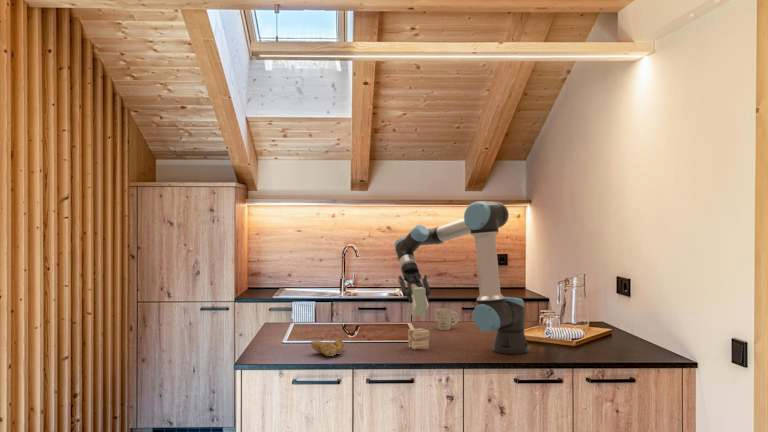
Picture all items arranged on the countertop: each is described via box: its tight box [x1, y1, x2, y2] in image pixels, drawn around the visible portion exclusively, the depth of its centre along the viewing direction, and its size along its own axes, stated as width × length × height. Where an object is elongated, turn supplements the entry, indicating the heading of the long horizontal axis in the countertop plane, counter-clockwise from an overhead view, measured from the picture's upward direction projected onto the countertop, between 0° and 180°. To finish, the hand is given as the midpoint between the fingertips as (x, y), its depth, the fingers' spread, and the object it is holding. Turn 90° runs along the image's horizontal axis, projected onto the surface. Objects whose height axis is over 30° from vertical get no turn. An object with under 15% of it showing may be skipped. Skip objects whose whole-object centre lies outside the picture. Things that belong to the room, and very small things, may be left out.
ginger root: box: [310, 337, 346, 357], centre depth 262 cm, size 16×16×8 cm
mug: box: [435, 307, 460, 331], centre depth 317 cm, size 8×13×10 cm, turn 115°
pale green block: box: [410, 286, 427, 317], centre depth 273 cm, size 5×5×12 cm
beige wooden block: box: [408, 339, 430, 351], centre depth 274 cm, size 7×7×4 cm
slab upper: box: [407, 327, 430, 341], centre depth 274 cm, size 7×7×4 cm
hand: (421, 307), depth 270 cm, fingers closed on pale green block, 5 cm apart
